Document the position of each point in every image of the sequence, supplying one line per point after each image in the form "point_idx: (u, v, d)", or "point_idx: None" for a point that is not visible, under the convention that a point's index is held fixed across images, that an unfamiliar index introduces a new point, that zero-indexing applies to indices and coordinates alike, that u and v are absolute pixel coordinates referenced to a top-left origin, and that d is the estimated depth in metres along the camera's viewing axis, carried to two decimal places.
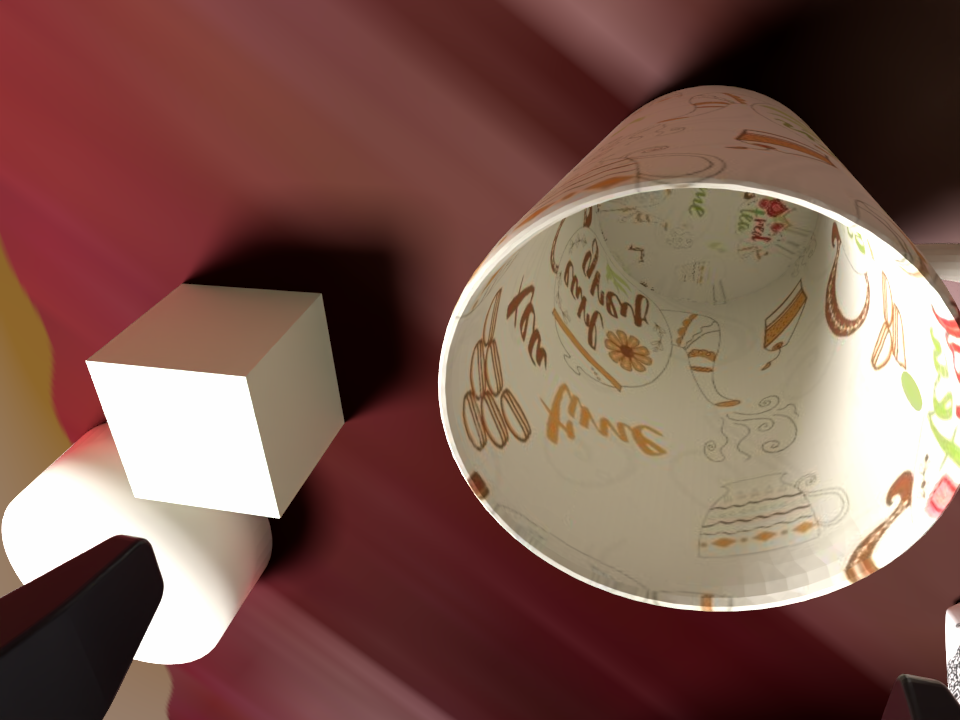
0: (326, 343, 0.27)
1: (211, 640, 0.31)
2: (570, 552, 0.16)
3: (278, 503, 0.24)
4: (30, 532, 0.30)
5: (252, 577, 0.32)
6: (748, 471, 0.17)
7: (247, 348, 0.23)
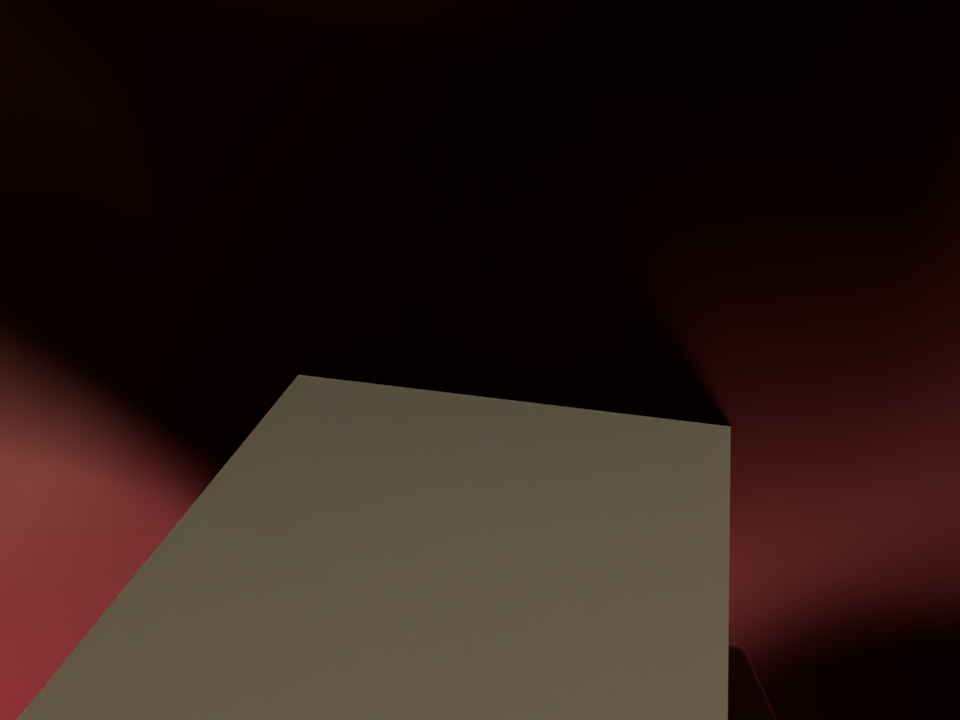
0: (421, 407, 0.09)
1: None
2: None
3: None
4: None
5: None
6: None
7: None
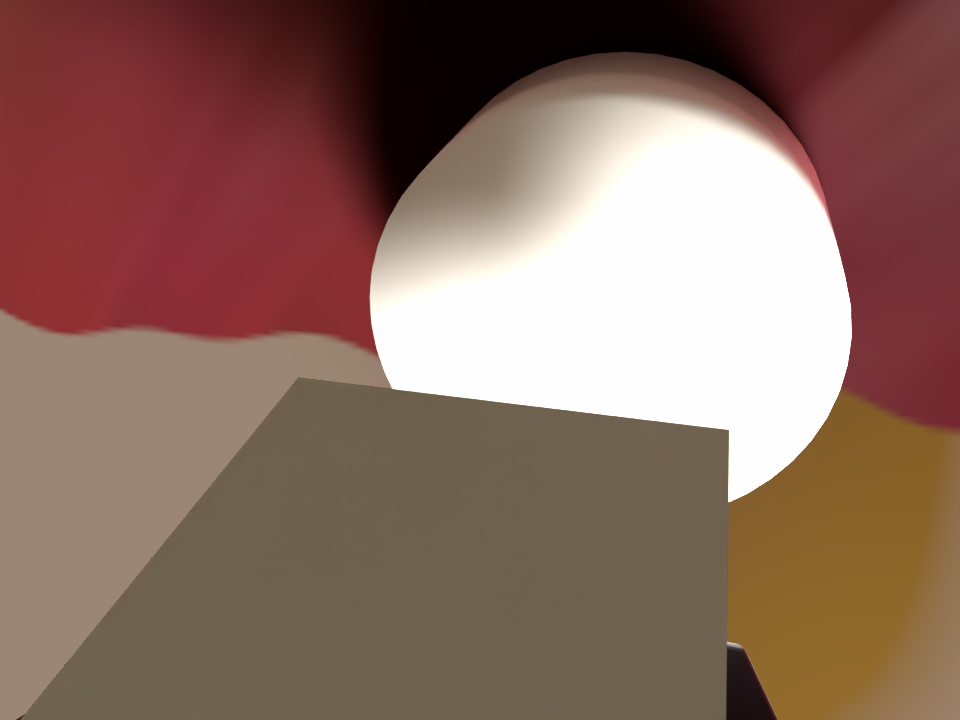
0: (420, 410, 0.09)
1: (747, 164, 0.13)
2: None
3: None
4: None
5: (680, 80, 0.15)
6: None
7: None
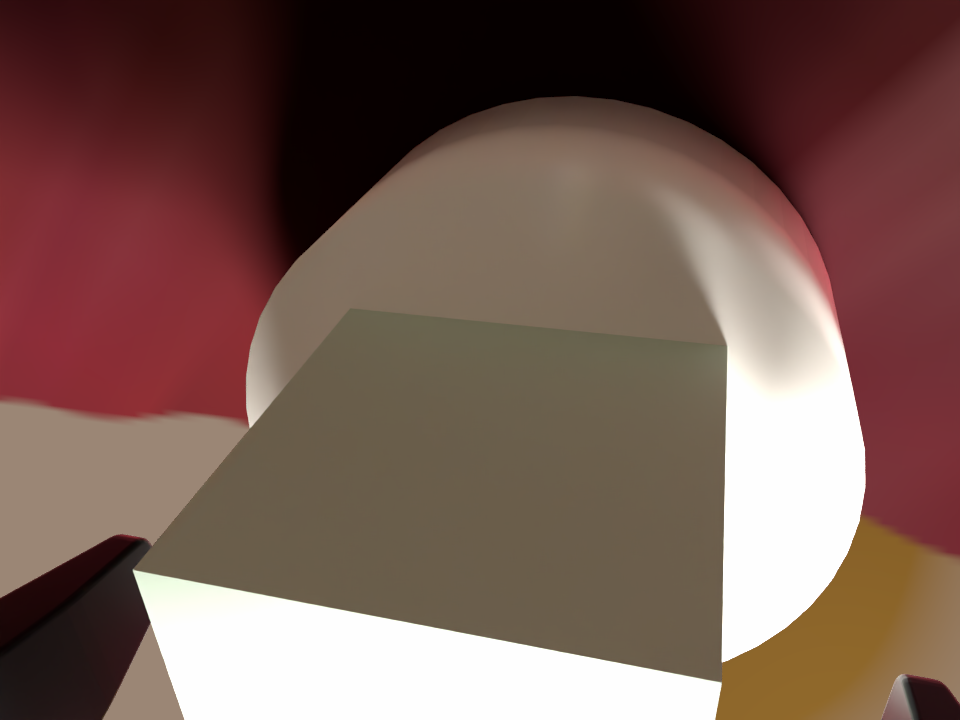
0: (460, 331, 0.11)
1: (726, 267, 0.10)
2: None
3: (654, 658, 0.06)
4: None
5: (642, 140, 0.11)
6: None
7: None
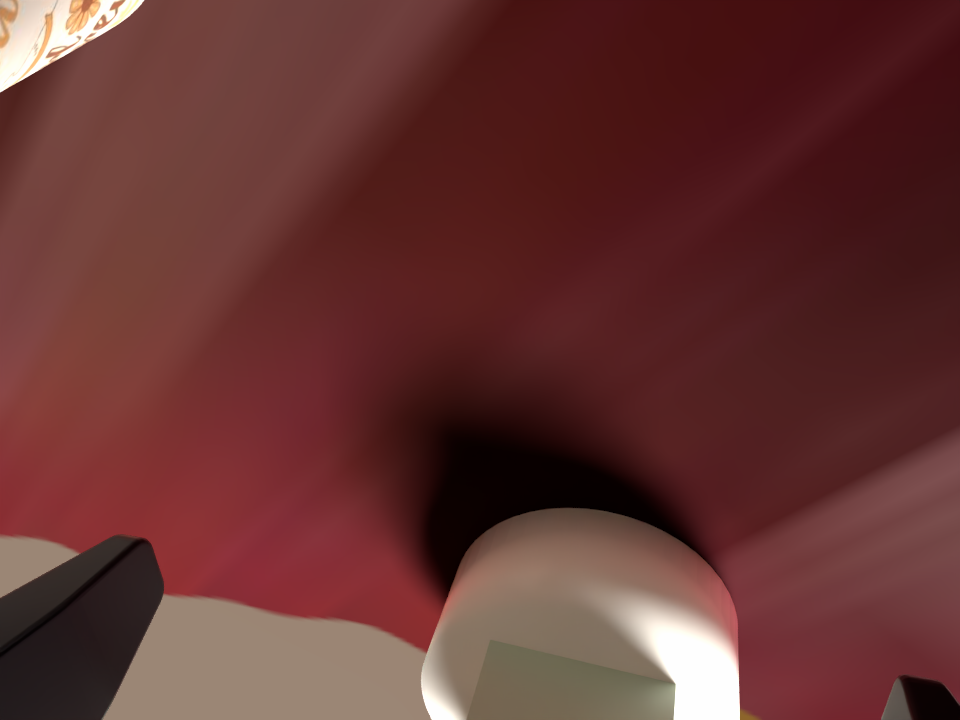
0: (548, 663, 0.22)
1: (679, 655, 0.21)
2: None
3: None
4: None
5: (642, 562, 0.23)
6: None
7: None
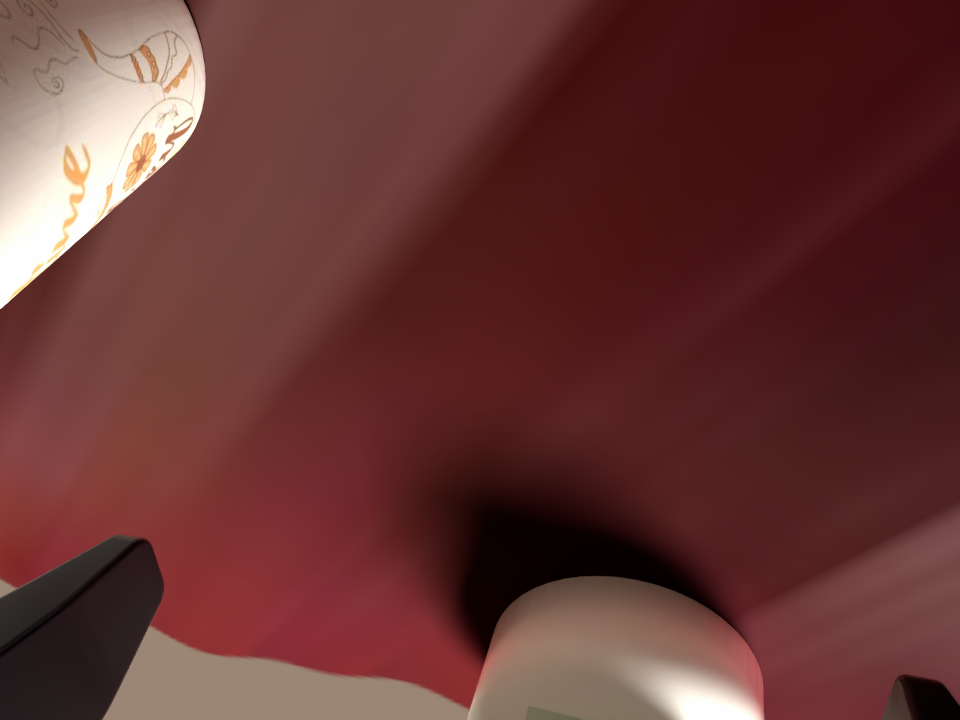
0: None
1: None
2: None
3: None
4: None
5: (671, 631, 0.24)
6: None
7: None
